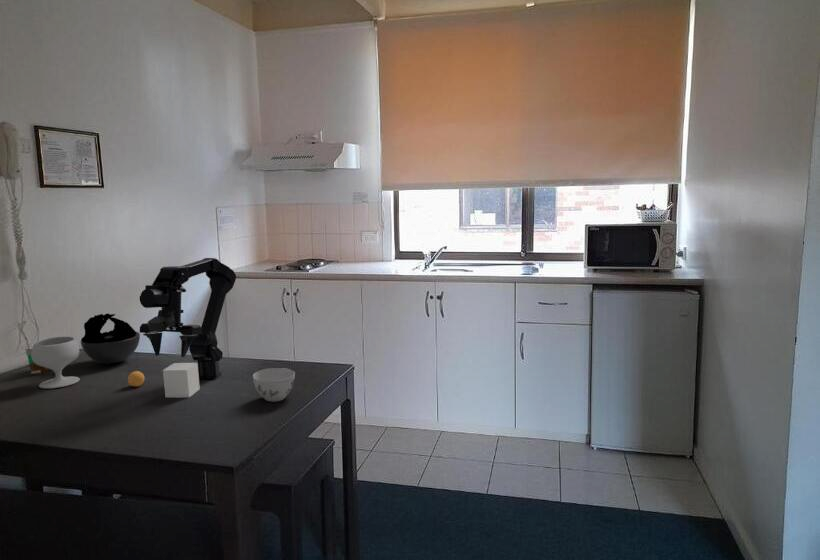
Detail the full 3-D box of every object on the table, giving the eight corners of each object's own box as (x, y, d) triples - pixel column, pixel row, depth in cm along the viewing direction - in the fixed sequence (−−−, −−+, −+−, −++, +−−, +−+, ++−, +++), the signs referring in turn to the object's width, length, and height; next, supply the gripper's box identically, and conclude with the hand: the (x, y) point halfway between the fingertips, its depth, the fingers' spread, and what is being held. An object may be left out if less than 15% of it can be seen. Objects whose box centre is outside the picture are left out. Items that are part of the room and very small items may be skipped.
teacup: (279, 408, 173) (277, 382, 172) (245, 403, 178) (243, 377, 177) (308, 391, 186) (307, 367, 185) (276, 387, 192) (275, 363, 190)
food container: (46, 376, 211) (42, 349, 209) (28, 376, 211) (25, 349, 209) (66, 366, 223) (63, 340, 221) (50, 366, 223) (47, 340, 221)
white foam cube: (199, 388, 192) (197, 362, 191) (189, 397, 184) (186, 370, 183) (176, 389, 193) (174, 362, 191) (165, 397, 185) (162, 370, 184)
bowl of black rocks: (91, 358, 232) (86, 311, 229) (146, 353, 237) (141, 307, 234) (76, 373, 213) (70, 322, 210) (136, 367, 218) (131, 317, 215)
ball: (148, 383, 199) (146, 369, 198) (140, 388, 194) (138, 373, 193) (133, 383, 199) (132, 369, 199) (125, 388, 195) (124, 374, 194)
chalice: (86, 375, 211) (81, 334, 208) (78, 387, 198) (73, 343, 195) (41, 380, 206) (36, 338, 204) (30, 393, 193) (24, 348, 191)
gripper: (127, 306, 180) (126, 358, 181) (182, 309, 176) (180, 361, 176) (151, 305, 191) (150, 353, 191) (203, 307, 187) (202, 356, 187)
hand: (170, 356), depth 186 cm, fingers open, 9 cm apart
